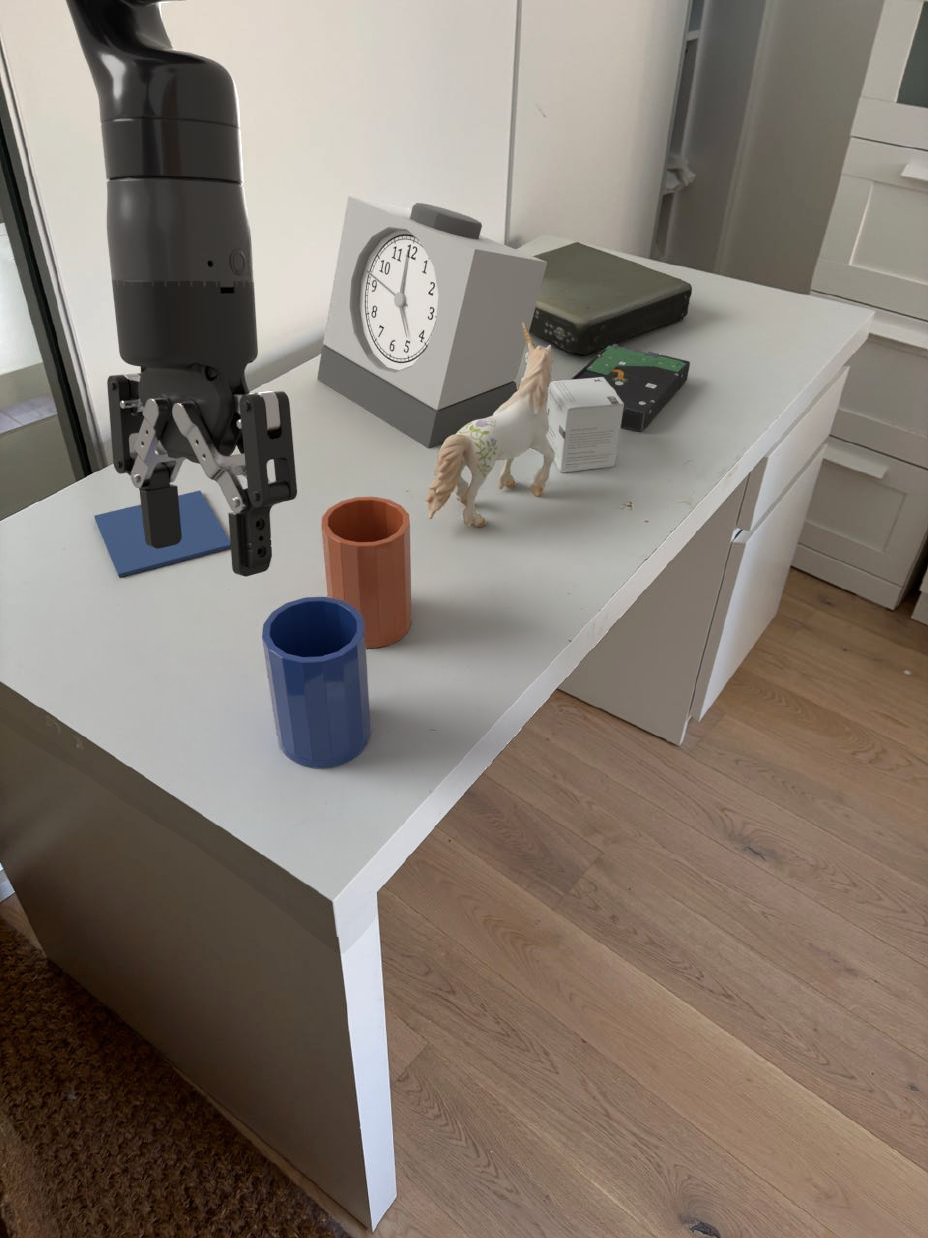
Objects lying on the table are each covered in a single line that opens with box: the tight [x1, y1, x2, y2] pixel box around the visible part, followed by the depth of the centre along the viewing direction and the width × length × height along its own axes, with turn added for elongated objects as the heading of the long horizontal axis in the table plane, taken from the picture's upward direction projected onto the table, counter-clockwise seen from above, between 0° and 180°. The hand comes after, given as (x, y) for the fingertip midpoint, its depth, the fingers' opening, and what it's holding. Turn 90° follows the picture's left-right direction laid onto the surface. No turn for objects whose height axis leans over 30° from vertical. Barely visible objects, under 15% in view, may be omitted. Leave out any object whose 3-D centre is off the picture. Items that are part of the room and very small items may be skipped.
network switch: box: [529, 241, 693, 356], centre depth 127 cm, size 23×24×5 cm
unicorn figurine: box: [425, 322, 555, 528], centre depth 90 cm, size 7×20×13 cm, turn 151°
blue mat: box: [93, 490, 231, 578], centre depth 88 cm, size 10×10×1 cm
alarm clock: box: [316, 195, 547, 449], centre depth 104 cm, size 20×16×20 cm
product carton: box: [546, 377, 624, 473], centre depth 98 cm, size 6×6×7 cm
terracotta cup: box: [320, 496, 413, 649], centre depth 76 cm, size 7×7×10 cm
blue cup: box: [261, 596, 372, 769], centre depth 66 cm, size 7×7×10 cm
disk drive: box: [570, 343, 691, 432], centre depth 110 cm, size 10×3×15 cm
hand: (206, 558), depth 58 cm, fingers open, 8 cm apart
